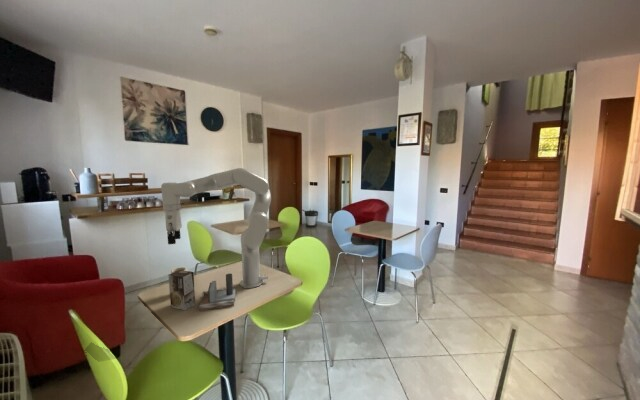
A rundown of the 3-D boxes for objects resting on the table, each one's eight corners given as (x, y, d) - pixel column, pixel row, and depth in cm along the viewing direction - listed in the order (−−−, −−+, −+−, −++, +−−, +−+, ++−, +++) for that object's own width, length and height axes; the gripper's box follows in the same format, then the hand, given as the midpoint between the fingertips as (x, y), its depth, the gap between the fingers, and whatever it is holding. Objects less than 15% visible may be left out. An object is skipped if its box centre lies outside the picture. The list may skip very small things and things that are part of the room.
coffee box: (196, 304, 125) (194, 271, 123) (185, 310, 119) (183, 276, 117) (181, 301, 128) (179, 269, 126) (169, 307, 122) (167, 274, 120)
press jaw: (235, 291, 135) (234, 270, 134) (234, 301, 125) (234, 278, 124) (210, 294, 132) (209, 272, 131) (208, 305, 121) (207, 281, 120)
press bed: (234, 292, 137) (234, 287, 137) (233, 306, 123) (233, 301, 123) (203, 296, 133) (203, 291, 133) (199, 311, 119) (198, 305, 118)
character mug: (185, 288, 142) (184, 265, 141) (194, 290, 139) (192, 267, 137) (165, 296, 132) (164, 271, 131) (174, 299, 129) (173, 274, 128)
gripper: (175, 209, 121) (178, 245, 123) (184, 205, 138) (186, 236, 140) (157, 210, 119) (160, 246, 121) (168, 205, 136) (171, 237, 138)
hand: (174, 241), depth 130 cm, fingers open, 9 cm apart
